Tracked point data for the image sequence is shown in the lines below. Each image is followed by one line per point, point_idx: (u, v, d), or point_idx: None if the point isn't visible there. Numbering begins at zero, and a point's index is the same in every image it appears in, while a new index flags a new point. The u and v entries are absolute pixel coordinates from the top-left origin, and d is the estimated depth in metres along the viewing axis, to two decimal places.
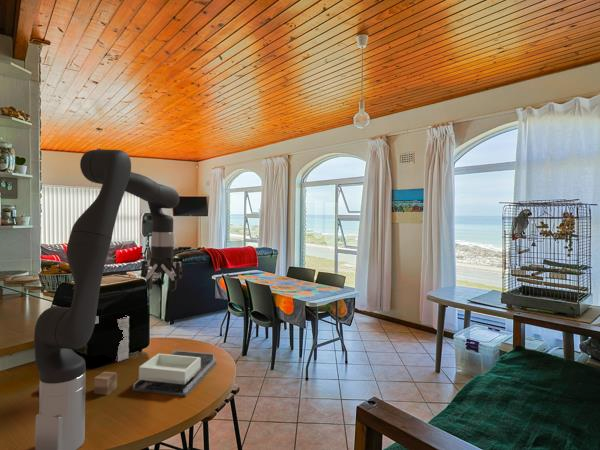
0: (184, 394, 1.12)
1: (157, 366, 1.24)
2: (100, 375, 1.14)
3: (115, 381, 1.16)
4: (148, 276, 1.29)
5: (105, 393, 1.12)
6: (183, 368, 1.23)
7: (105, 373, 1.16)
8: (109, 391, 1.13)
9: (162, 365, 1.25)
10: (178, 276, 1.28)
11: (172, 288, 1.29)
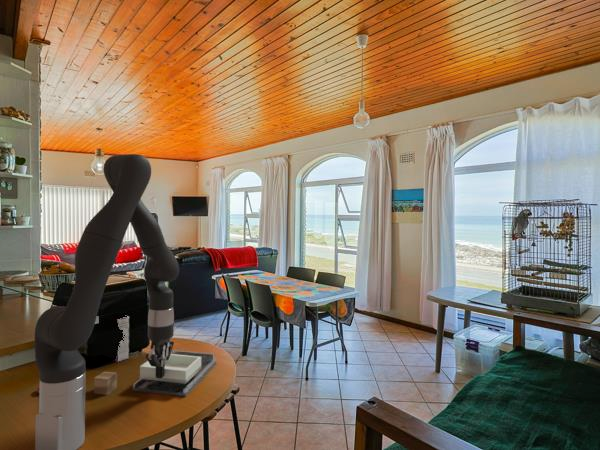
0: (184, 394, 1.12)
1: None
2: (100, 375, 1.14)
3: (115, 381, 1.16)
4: (162, 362, 1.13)
5: (105, 393, 1.12)
6: (184, 367, 1.24)
7: (105, 373, 1.16)
8: (109, 391, 1.13)
9: None
10: (168, 356, 1.16)
11: (163, 373, 1.14)
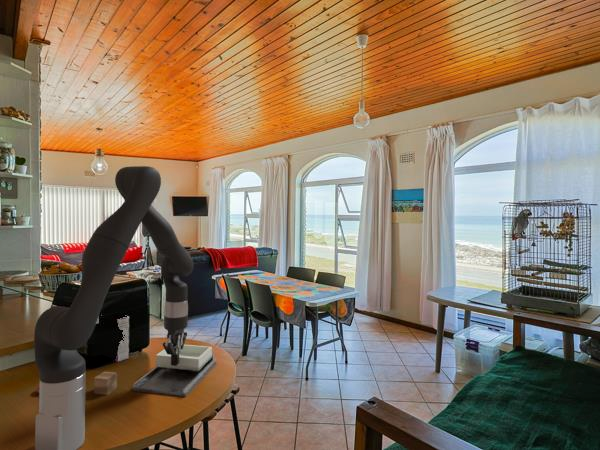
0: (184, 394, 1.12)
1: None
2: (100, 375, 1.14)
3: (115, 381, 1.16)
4: (177, 351, 1.22)
5: (105, 393, 1.12)
6: (196, 357, 1.33)
7: (105, 373, 1.16)
8: (109, 391, 1.13)
9: None
10: (182, 346, 1.26)
11: None
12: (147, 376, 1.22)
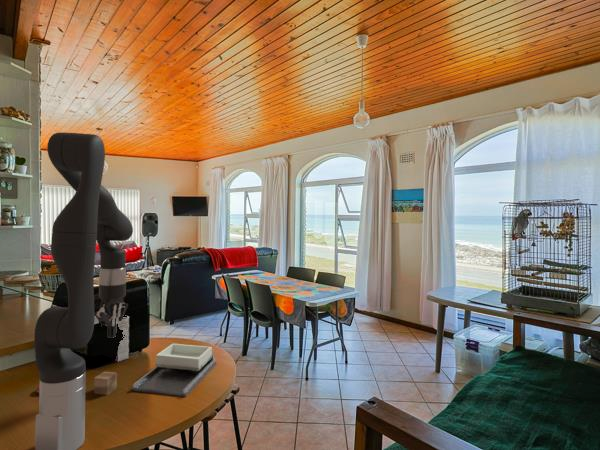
0: (184, 394, 1.12)
1: (172, 355, 1.34)
2: (100, 375, 1.14)
3: (115, 381, 1.16)
4: (113, 322, 1.13)
5: (105, 393, 1.12)
6: (196, 357, 1.33)
7: (105, 373, 1.16)
8: (109, 391, 1.13)
9: (176, 354, 1.35)
10: (121, 317, 1.17)
11: (115, 333, 1.15)
12: (147, 376, 1.22)
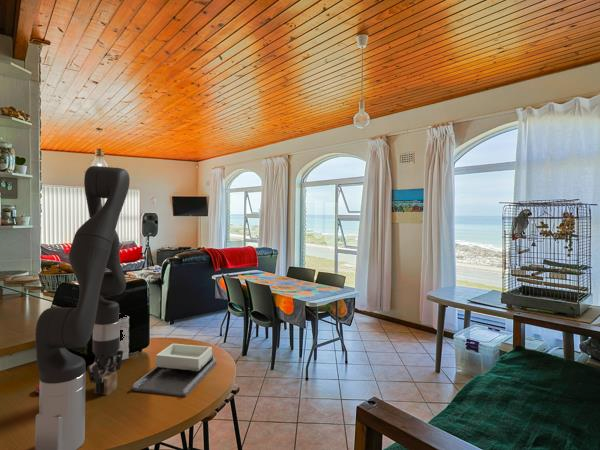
0: (184, 394, 1.12)
1: (172, 355, 1.34)
2: (100, 375, 1.14)
3: (115, 381, 1.16)
4: (103, 378, 1.12)
5: (105, 393, 1.12)
6: (196, 357, 1.33)
7: None
8: (109, 391, 1.13)
9: (176, 354, 1.35)
10: (119, 366, 1.19)
11: None
12: (147, 376, 1.22)
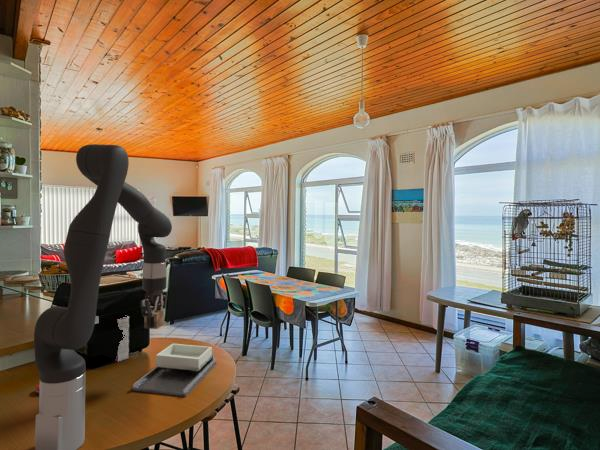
0: (184, 394, 1.12)
1: (172, 355, 1.34)
2: None
3: (162, 318, 1.25)
4: (153, 313, 1.21)
5: (155, 327, 1.21)
6: (196, 357, 1.33)
7: None
8: (158, 326, 1.22)
9: (176, 354, 1.35)
10: (165, 305, 1.28)
11: None
12: (147, 376, 1.22)
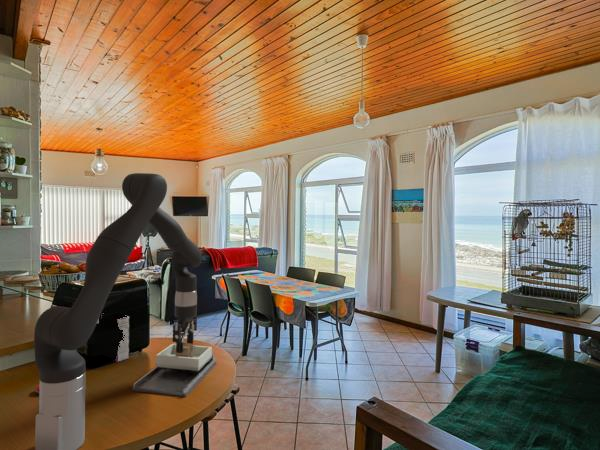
0: (184, 394, 1.12)
1: (172, 355, 1.34)
2: None
3: (192, 351, 1.32)
4: (183, 339, 1.26)
5: None
6: (196, 357, 1.33)
7: (183, 344, 1.32)
8: None
9: None
10: (196, 328, 1.37)
11: None
12: (147, 376, 1.22)
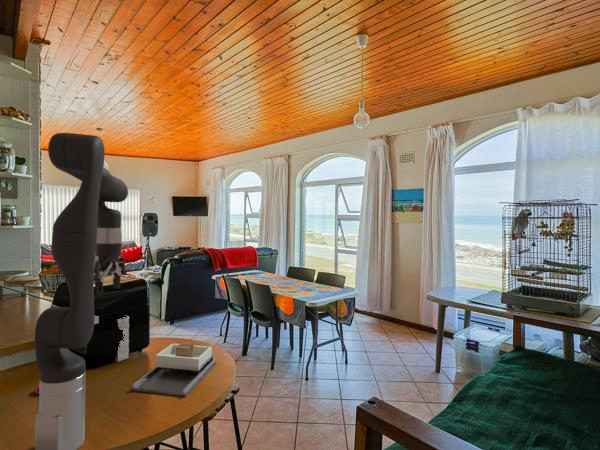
0: (184, 394, 1.12)
1: (172, 355, 1.34)
2: (180, 345, 1.30)
3: (192, 351, 1.32)
4: (102, 278, 1.16)
5: None
6: (196, 357, 1.33)
7: (183, 344, 1.32)
8: None
9: None
10: (124, 271, 1.26)
11: (119, 285, 1.24)
12: (147, 376, 1.22)
